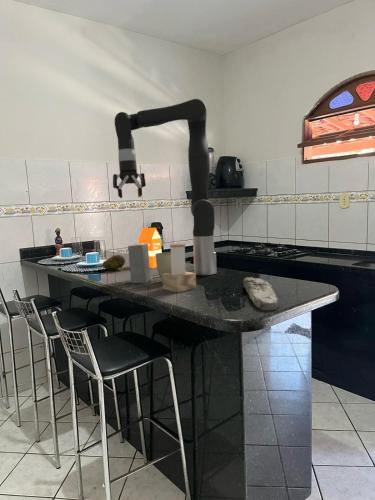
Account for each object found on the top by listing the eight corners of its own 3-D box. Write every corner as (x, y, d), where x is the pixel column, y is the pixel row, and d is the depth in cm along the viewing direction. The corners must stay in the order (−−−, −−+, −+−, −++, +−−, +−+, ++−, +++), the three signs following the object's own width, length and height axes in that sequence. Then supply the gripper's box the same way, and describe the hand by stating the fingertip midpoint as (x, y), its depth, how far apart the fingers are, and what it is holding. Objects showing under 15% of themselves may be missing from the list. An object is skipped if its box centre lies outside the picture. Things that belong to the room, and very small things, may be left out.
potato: (116, 267, 197) (115, 252, 196) (128, 270, 187) (127, 254, 186) (101, 270, 192) (100, 254, 191) (112, 273, 182) (111, 256, 181)
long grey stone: (251, 316, 113) (285, 317, 113) (252, 299, 112) (286, 300, 112) (240, 284, 148) (266, 285, 147) (240, 270, 147) (266, 271, 146)
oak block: (181, 285, 152) (180, 270, 151) (196, 288, 145) (195, 273, 145) (163, 289, 146) (162, 273, 146) (177, 293, 140) (177, 277, 139)
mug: (175, 285, 151) (174, 255, 149) (153, 284, 154) (151, 255, 153) (185, 279, 161) (184, 251, 160) (163, 278, 165) (162, 251, 163)
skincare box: (145, 283, 156) (143, 245, 154) (129, 283, 158) (126, 245, 156) (151, 279, 164) (149, 242, 162) (135, 279, 166) (133, 243, 164)
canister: (171, 272, 147) (170, 243, 146) (185, 272, 148) (184, 243, 146) (171, 275, 142) (170, 245, 141) (185, 274, 142) (184, 244, 141)
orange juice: (153, 268, 193) (151, 228, 190) (139, 266, 197) (137, 228, 195) (162, 265, 199) (160, 227, 197) (149, 264, 204) (147, 227, 201)
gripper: (113, 159, 162) (116, 198, 164) (145, 159, 168) (148, 196, 170) (109, 161, 169) (112, 198, 171) (140, 161, 175) (143, 196, 177)
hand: (130, 197), depth 171 cm, fingers open, 8 cm apart
